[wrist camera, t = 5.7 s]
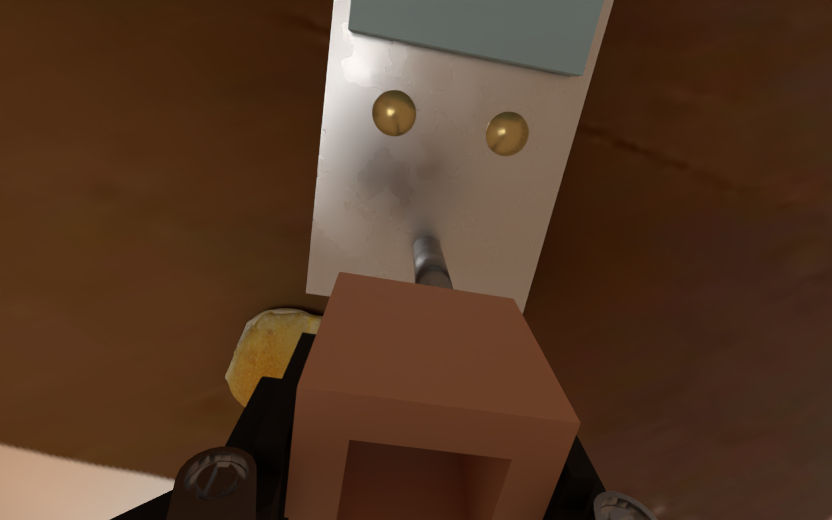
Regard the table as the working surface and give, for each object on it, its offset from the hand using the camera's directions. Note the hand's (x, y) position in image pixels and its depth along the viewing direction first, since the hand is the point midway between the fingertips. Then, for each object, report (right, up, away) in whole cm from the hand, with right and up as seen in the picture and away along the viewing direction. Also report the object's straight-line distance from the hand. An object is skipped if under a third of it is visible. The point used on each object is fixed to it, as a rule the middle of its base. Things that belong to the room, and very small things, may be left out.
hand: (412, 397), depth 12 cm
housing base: (+2, +11, +13) cm, 18 cm away
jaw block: (0, +1, +1) cm, 1 cm away
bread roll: (-8, -3, +19) cm, 21 cm away
